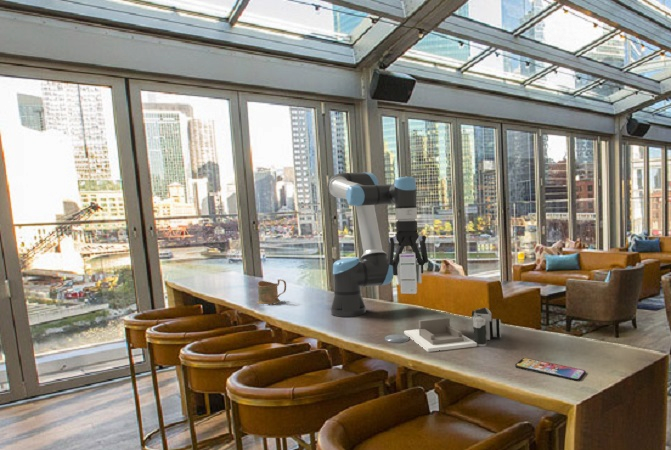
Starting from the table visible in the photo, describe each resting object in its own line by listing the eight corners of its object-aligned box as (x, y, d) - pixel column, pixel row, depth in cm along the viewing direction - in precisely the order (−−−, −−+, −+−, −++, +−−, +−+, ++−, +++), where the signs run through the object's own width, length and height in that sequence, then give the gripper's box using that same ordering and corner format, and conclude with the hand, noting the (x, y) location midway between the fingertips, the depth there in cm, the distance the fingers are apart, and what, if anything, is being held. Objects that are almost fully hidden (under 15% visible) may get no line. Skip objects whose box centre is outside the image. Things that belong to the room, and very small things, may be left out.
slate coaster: (381, 338, 138) (381, 335, 138) (403, 335, 139) (403, 333, 139) (389, 345, 130) (389, 342, 130) (412, 342, 132) (412, 340, 132)
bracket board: (404, 333, 141) (403, 316, 140) (447, 329, 144) (446, 312, 143) (428, 351, 121) (427, 331, 121) (477, 346, 124) (476, 326, 124)
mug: (278, 306, 194) (277, 281, 193) (252, 303, 203) (250, 280, 203) (293, 301, 203) (292, 278, 203) (267, 299, 213) (266, 276, 213)
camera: (501, 348, 121) (500, 315, 121) (471, 346, 125) (470, 313, 124) (501, 333, 136) (499, 303, 136) (474, 331, 139) (472, 302, 139)
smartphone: (579, 380, 96) (513, 365, 106) (579, 383, 96) (513, 368, 106) (586, 370, 101) (523, 357, 111) (586, 374, 101) (524, 360, 111)
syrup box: (417, 294, 143) (416, 253, 143) (400, 293, 144) (399, 253, 144) (417, 290, 149) (416, 251, 148) (400, 290, 150) (399, 251, 149)
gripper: (382, 221, 140) (385, 287, 141) (437, 219, 144) (439, 283, 145) (376, 221, 147) (378, 283, 148) (428, 218, 151) (430, 279, 152)
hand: (408, 283), depth 146 cm, fingers closed on syrup box, 7 cm apart
